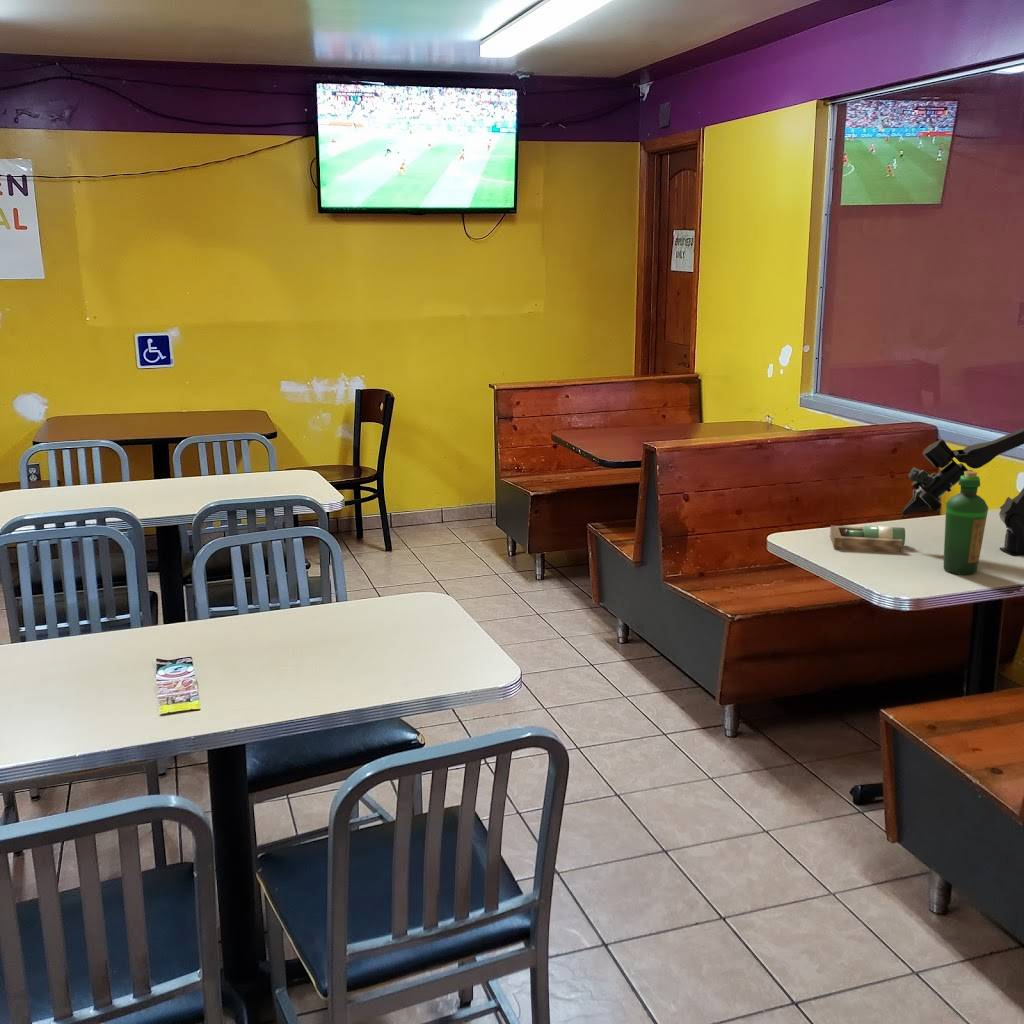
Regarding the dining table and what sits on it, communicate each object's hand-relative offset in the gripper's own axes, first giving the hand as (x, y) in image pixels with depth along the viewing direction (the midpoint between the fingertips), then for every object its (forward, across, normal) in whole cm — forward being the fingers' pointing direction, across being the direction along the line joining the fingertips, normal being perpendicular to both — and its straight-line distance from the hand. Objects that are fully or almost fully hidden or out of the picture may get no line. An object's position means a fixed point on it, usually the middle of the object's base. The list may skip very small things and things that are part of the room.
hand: (902, 513), depth 305 cm
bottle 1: (+4, 0, +6) cm, 7 cm away
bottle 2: (-2, +22, +16) cm, 27 cm away
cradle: (+14, 0, 0) cm, 14 cm away
